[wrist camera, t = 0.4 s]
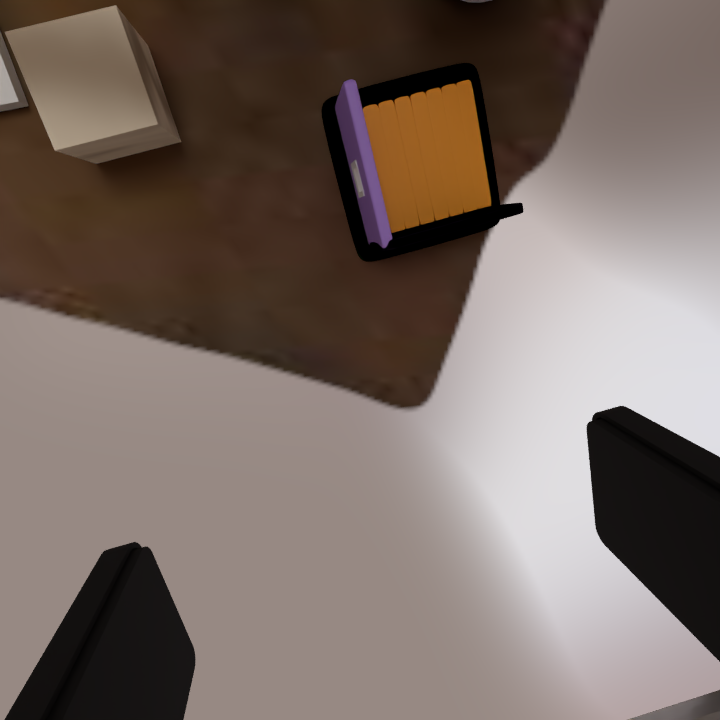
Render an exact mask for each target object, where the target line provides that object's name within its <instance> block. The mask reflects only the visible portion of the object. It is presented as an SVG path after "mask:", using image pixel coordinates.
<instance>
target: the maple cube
mask: <svg viewBox="0 0 720 720" xmlns="http://www.w3.org/2000/svg"><path fill="white" fill-rule="evenodd" d="M5 34H6V36H7V39H8V41H9V43H10V46H11V48H12V50H13V53H14V55H15V57H16V60H17V62H18V65H19V67H20V69H21V72H22V74H23V76H24V79H25V81H26V83H27V86H28V88H29V91H30V93H31V95H32V98H33V100H34V102H35V105H36V107H37V109H38V112H39V114H40V117H41V119H42V121H43V124H44V126H45V128H46V131H47V133H48V135H49V138H50V140H51V143H52V145H53V147H54V150H55V151H58V152H61V153H64V154H67V155H70V156H73V157H76V158H79V159H83V160H86V161H89V162H92V163H95V164H98V163H102V162H106V161H110V160H113V159H117V158H121V157H125V156H129V155H133V154H137V153H140V152H144V151H148V150H152V149H156V148H160V147H164V146H167V145H171V144H175V143H179V142H181V139H180V137H179V134H178V131H177V128H176V125H175V122H174V119H173V116H172V113H171V110H170V108H169V105H168V102H167V99H166V96H165V93H164V90H163V87H162V84H161V81H160V79H159V76H158V73H157V70H156V67H155V64H154V61H153V58H152V55H151V52H150V50H149V47H148V45H147V44H146V42H145V41H144V40H143V39H142V37H141V36H140V35H139V34H138V32H137V31H136V30H135V29H134V27H133V26H132V25H131V24H130V22H129V21H128V20H127V19H126V17H125V16H124V15H123V14H122V12H121V11H120V10H119V9H118V7H117V6H116V5H115V6H111V7H107V8H103V9H99V10H95V11H90V12H86V13H82V14H78V15H74V16H70V17H65V18H61V19H57V20H53V21H49V22H45V23H40V24H36V25H32V26H28V27H24V28H20V29H16V30H11V31H7V32H5Z"/></svg>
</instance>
